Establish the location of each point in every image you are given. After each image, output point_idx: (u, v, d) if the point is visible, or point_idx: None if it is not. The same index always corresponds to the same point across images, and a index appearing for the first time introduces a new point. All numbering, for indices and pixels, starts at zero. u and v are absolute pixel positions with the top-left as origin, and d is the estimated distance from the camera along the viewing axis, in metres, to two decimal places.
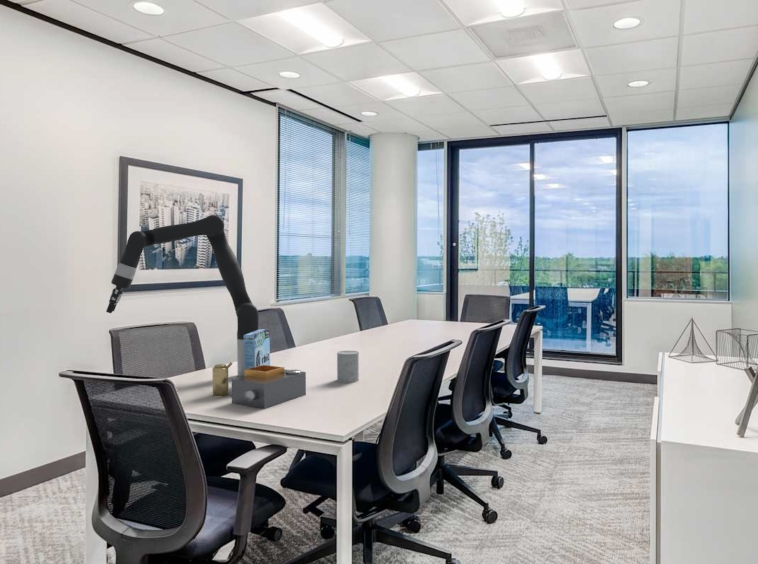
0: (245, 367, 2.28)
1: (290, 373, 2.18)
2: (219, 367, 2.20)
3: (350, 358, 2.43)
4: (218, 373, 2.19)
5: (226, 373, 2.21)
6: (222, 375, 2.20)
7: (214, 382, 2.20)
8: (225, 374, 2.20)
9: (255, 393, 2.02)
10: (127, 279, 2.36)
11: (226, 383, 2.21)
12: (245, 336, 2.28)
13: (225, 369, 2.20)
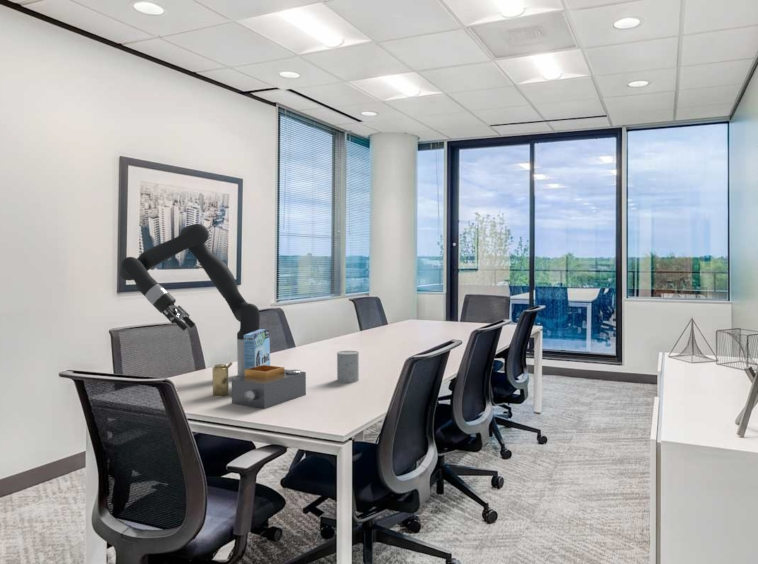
0: (245, 367, 2.28)
1: (290, 373, 2.18)
2: (219, 367, 2.20)
3: (350, 358, 2.43)
4: (218, 373, 2.19)
5: (226, 373, 2.21)
6: (222, 375, 2.20)
7: (214, 382, 2.20)
8: (225, 374, 2.20)
9: (255, 393, 2.02)
10: (162, 297, 2.18)
11: (226, 383, 2.21)
12: (245, 336, 2.28)
13: (225, 369, 2.20)
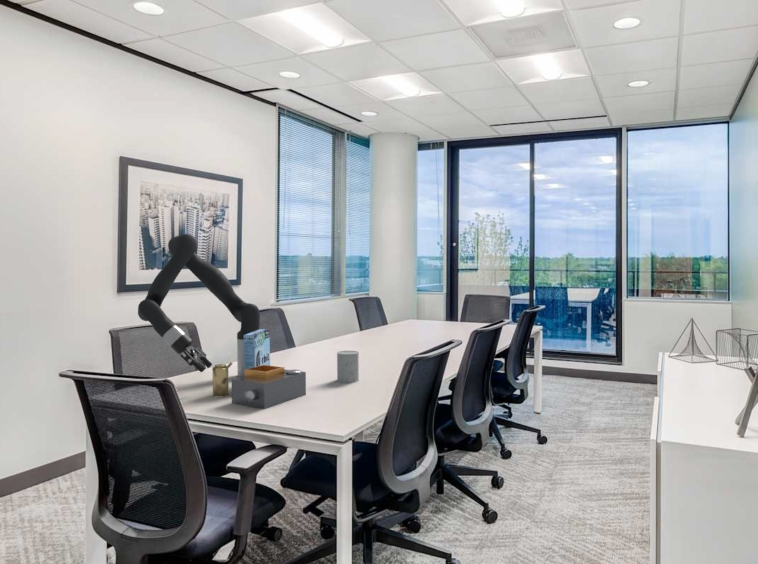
0: (245, 367, 2.28)
1: (290, 373, 2.18)
2: (219, 367, 2.20)
3: (350, 358, 2.43)
4: (218, 373, 2.19)
5: (226, 373, 2.21)
6: (222, 375, 2.20)
7: (214, 382, 2.20)
8: (225, 374, 2.20)
9: (255, 393, 2.02)
10: (179, 338, 2.18)
11: (226, 383, 2.21)
12: (245, 336, 2.28)
13: (225, 369, 2.20)
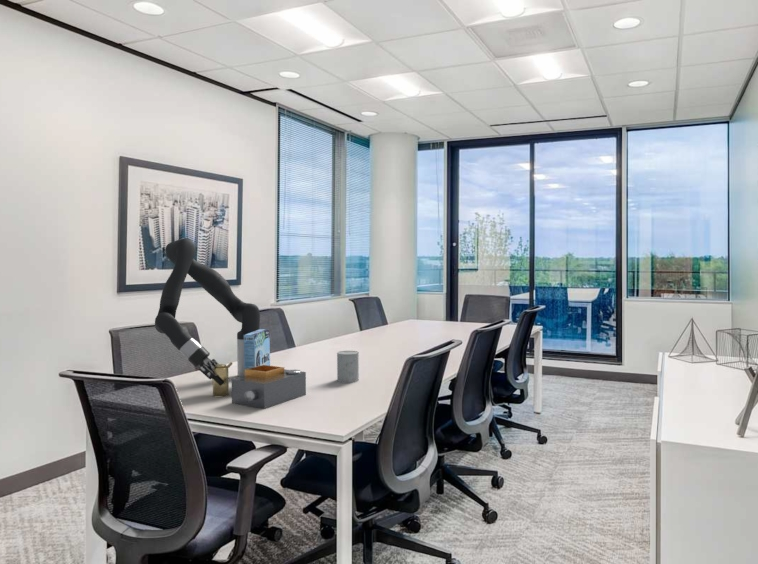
0: (245, 367, 2.28)
1: (290, 373, 2.18)
2: (219, 367, 2.20)
3: (350, 358, 2.43)
4: (218, 373, 2.19)
5: (226, 373, 2.21)
6: (223, 375, 2.20)
7: (214, 382, 2.20)
8: (225, 374, 2.20)
9: (255, 393, 2.02)
10: (196, 351, 2.19)
11: (226, 383, 2.21)
12: (245, 336, 2.28)
13: (225, 369, 2.20)
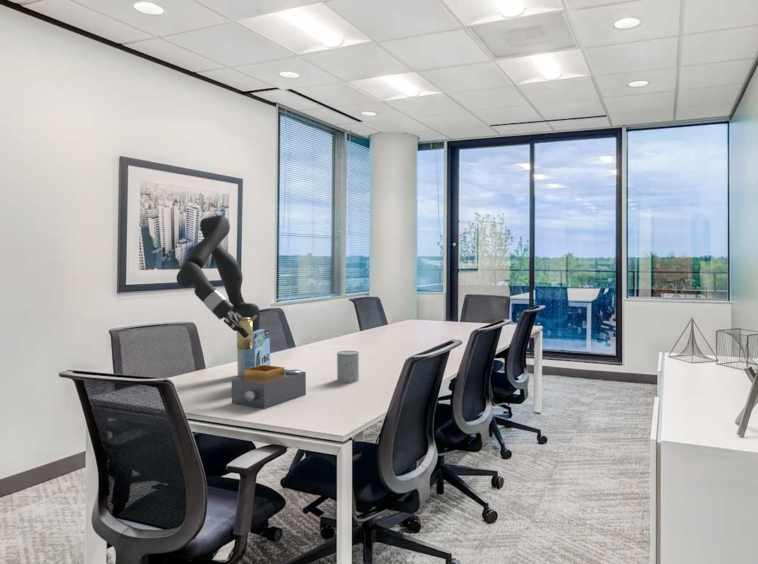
0: (245, 367, 2.28)
1: (290, 373, 2.18)
2: (243, 319, 2.15)
3: (350, 358, 2.43)
4: (242, 325, 2.15)
5: (250, 326, 2.17)
6: (247, 327, 2.15)
7: (238, 335, 2.16)
8: (249, 326, 2.16)
9: (255, 393, 2.02)
10: (221, 303, 2.14)
11: (250, 336, 2.17)
12: None
13: (249, 321, 2.16)
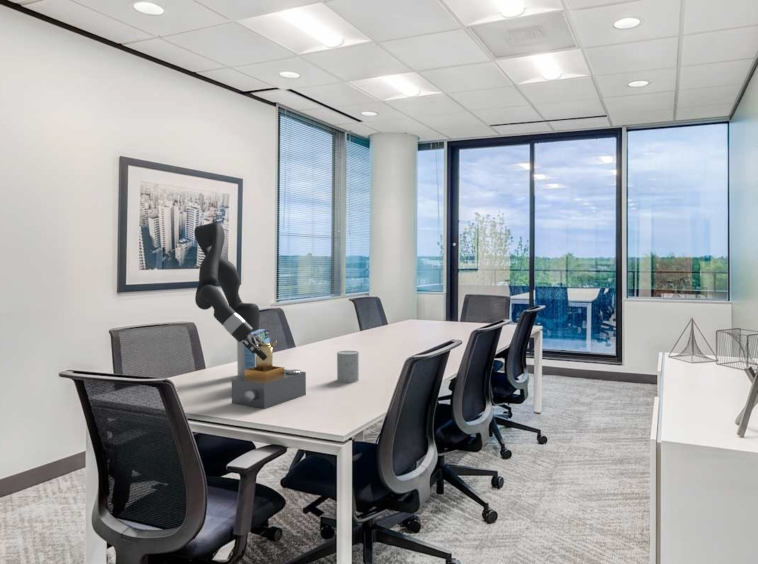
0: (245, 367, 2.28)
1: (290, 373, 2.18)
2: (264, 345, 2.14)
3: (350, 358, 2.43)
4: None
5: (271, 352, 2.15)
6: (267, 353, 2.14)
7: (258, 360, 2.14)
8: (270, 352, 2.15)
9: (255, 393, 2.02)
10: (240, 326, 2.13)
11: (270, 362, 2.15)
12: None
13: (270, 347, 2.15)
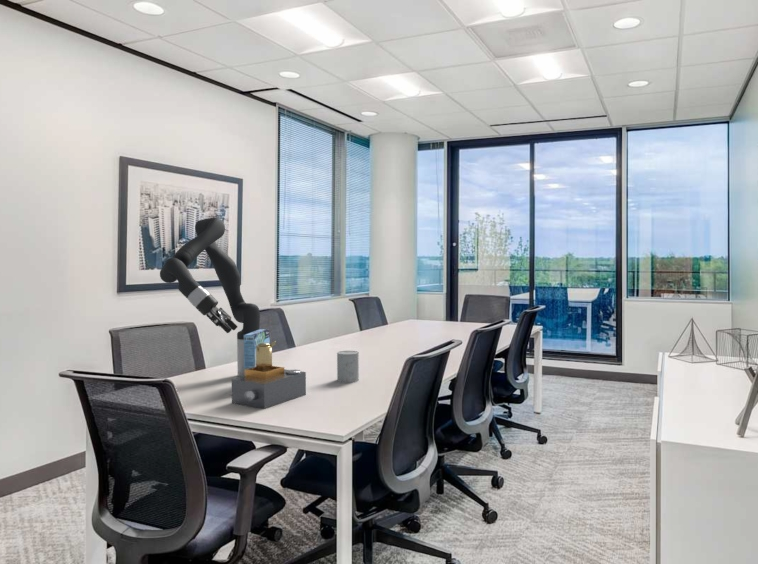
0: (245, 367, 2.28)
1: (290, 373, 2.18)
2: (263, 345, 2.14)
3: (350, 358, 2.43)
4: (262, 351, 2.13)
5: (270, 352, 2.15)
6: (267, 353, 2.14)
7: (258, 361, 2.14)
8: (269, 352, 2.15)
9: (255, 393, 2.02)
10: (205, 299, 2.13)
11: (270, 362, 2.15)
12: (245, 336, 2.28)
13: (269, 348, 2.15)
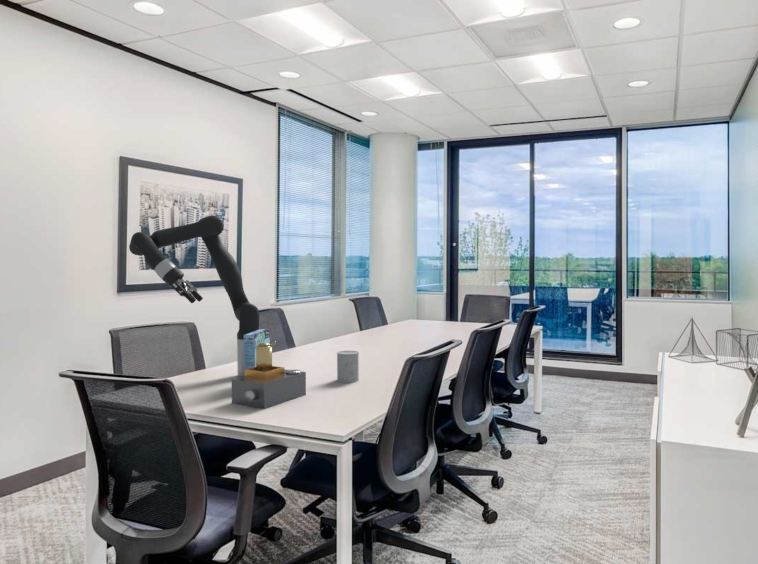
0: (245, 367, 2.28)
1: (290, 373, 2.18)
2: (263, 345, 2.14)
3: (350, 358, 2.43)
4: (262, 351, 2.14)
5: (270, 352, 2.15)
6: (267, 353, 2.14)
7: (258, 361, 2.14)
8: (269, 352, 2.15)
9: (255, 393, 2.02)
10: (170, 270, 2.24)
11: (270, 362, 2.15)
12: (245, 336, 2.28)
13: (269, 348, 2.15)
